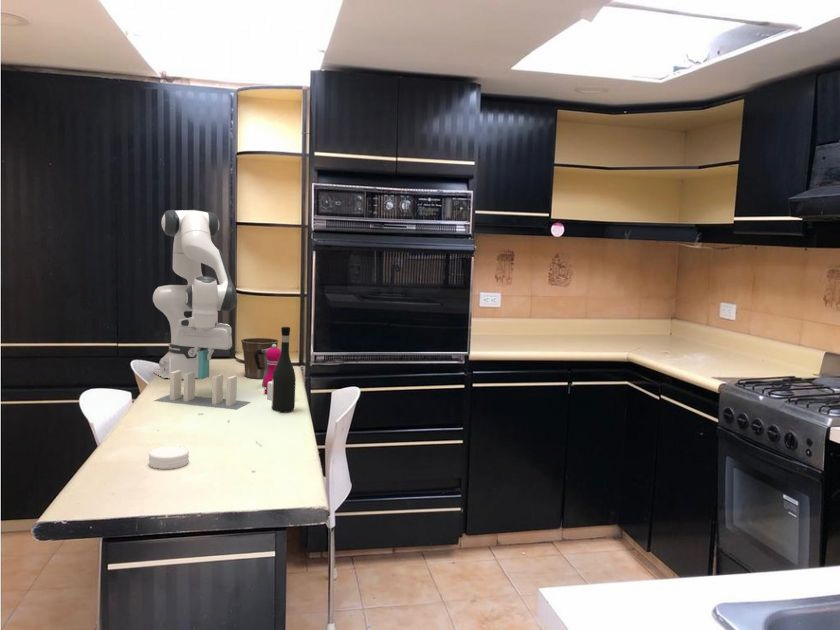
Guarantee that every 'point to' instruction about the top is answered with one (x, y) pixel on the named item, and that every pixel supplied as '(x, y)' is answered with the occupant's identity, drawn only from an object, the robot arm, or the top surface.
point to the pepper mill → (271, 364)
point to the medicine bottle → (269, 390)
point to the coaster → (168, 457)
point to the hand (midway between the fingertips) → (204, 359)
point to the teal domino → (203, 365)
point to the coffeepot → (264, 361)
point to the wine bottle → (284, 378)
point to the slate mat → (204, 402)
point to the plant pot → (249, 349)
